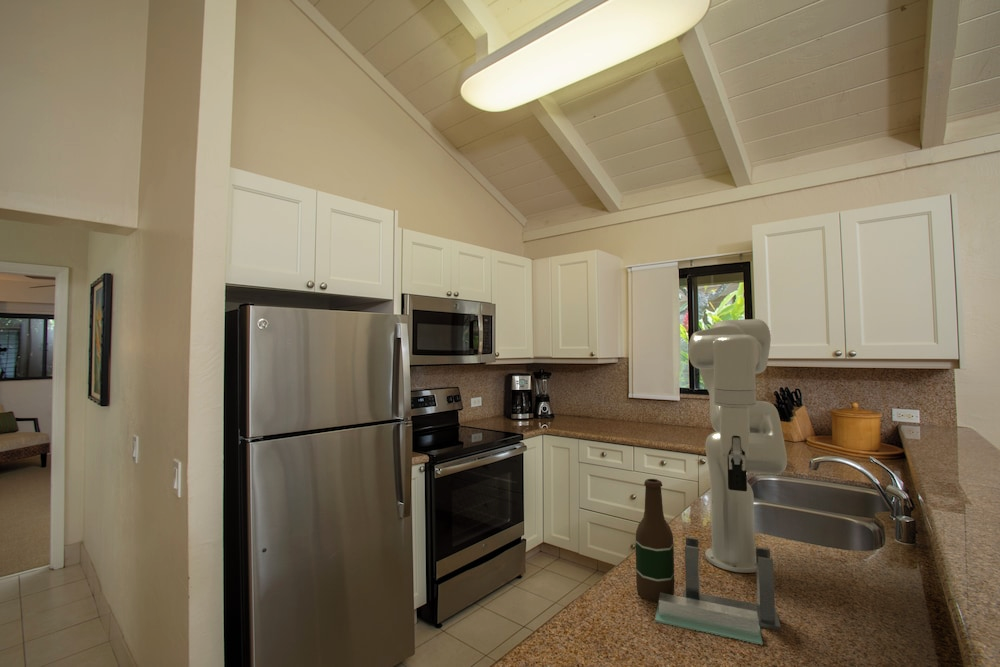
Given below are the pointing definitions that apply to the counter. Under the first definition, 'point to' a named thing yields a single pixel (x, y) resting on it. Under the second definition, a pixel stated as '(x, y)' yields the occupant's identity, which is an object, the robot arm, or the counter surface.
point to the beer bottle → (654, 547)
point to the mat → (708, 629)
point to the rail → (709, 614)
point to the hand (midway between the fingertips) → (736, 482)
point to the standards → (764, 599)
